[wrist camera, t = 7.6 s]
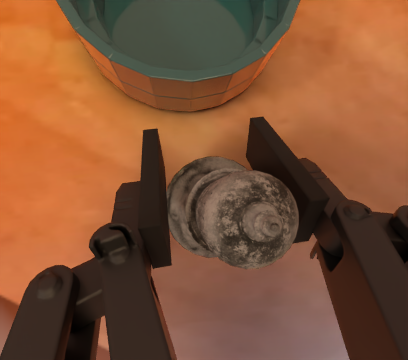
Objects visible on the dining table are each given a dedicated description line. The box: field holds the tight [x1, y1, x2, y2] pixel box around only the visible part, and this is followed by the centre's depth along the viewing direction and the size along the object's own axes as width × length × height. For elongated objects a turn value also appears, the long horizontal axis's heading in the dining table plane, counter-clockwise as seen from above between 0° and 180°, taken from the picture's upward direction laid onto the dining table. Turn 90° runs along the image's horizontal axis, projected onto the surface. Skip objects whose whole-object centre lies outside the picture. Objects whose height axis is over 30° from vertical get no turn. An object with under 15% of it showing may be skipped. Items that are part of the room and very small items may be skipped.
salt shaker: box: [166, 157, 299, 269], centre depth 11 cm, size 6×6×12 cm
